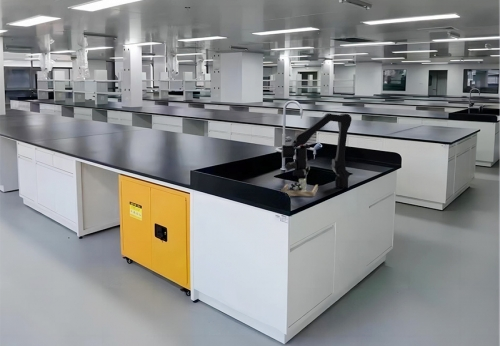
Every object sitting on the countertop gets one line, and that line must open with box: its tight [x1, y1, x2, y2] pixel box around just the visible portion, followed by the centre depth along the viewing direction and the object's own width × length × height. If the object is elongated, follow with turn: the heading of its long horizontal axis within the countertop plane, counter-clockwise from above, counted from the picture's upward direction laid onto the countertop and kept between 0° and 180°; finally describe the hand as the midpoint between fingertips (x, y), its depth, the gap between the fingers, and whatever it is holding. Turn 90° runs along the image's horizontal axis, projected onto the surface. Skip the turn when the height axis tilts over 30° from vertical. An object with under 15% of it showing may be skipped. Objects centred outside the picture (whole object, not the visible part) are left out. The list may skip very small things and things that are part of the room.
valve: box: [289, 178, 307, 191], centre depth 224 cm, size 7×7×12 cm
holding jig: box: [279, 183, 319, 197], centre depth 225 cm, size 17×16×2 cm
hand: (301, 185), depth 232 cm, fingers closed
